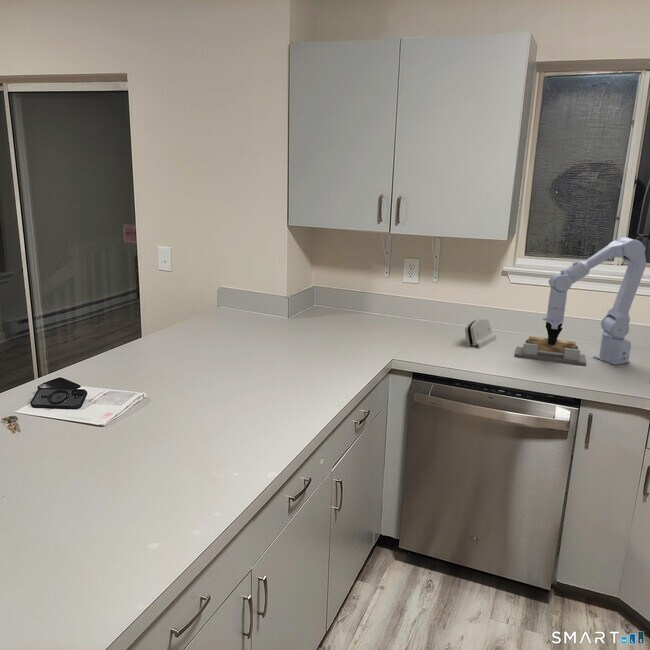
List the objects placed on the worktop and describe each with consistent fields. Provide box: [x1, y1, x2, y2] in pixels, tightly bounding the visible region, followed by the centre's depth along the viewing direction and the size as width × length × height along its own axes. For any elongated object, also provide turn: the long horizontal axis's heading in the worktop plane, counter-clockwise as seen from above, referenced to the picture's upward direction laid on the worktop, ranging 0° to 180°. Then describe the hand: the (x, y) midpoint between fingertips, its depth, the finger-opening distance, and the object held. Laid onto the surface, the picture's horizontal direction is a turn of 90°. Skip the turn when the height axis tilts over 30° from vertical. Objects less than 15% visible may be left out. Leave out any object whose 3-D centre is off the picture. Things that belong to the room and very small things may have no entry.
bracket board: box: [514, 338, 587, 367], centre depth 214 cm, size 24×10×5 cm, turn 70°
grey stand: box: [464, 318, 497, 349], centre depth 230 cm, size 17×5×10 cm, turn 142°
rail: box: [528, 335, 577, 354], centre depth 214 cm, size 16×3×4 cm, turn 70°
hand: (551, 343), depth 213 cm, fingers closed on rail, 3 cm apart
